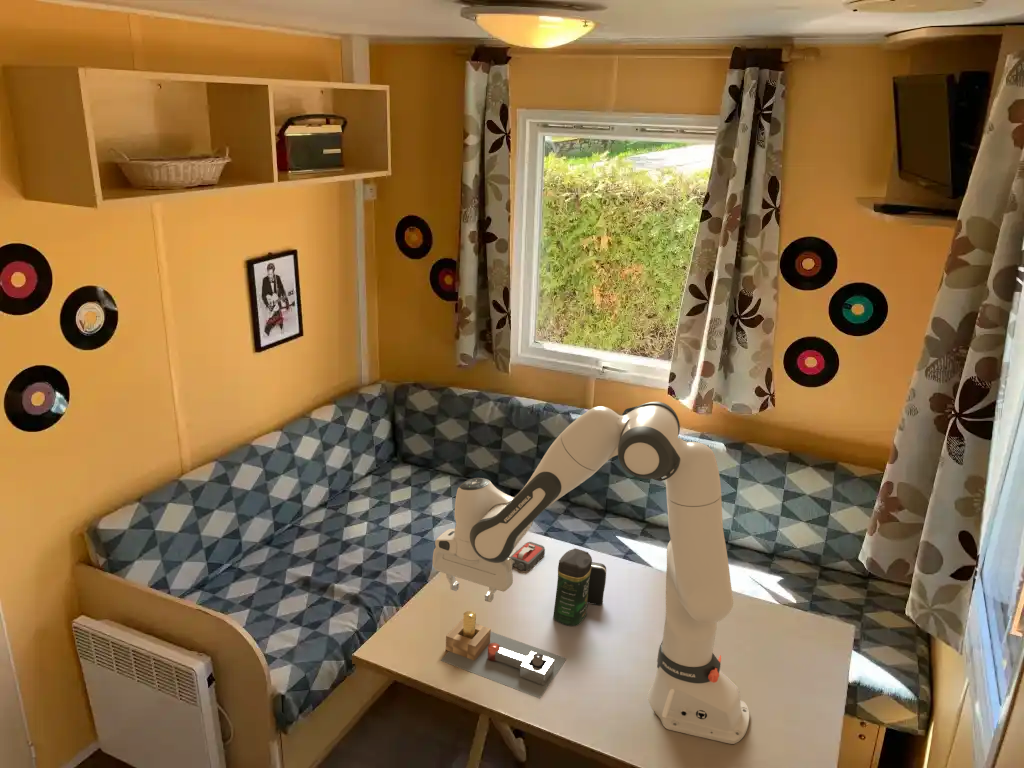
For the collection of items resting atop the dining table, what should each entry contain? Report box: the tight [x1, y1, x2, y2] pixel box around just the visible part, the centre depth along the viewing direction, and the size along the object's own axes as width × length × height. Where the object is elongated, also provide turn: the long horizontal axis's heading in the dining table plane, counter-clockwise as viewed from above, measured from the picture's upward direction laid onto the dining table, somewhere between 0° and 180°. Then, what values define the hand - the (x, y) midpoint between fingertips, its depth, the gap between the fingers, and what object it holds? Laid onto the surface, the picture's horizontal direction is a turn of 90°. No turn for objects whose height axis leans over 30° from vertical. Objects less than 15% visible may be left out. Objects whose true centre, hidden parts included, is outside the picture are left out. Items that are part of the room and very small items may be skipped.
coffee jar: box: [553, 548, 593, 627], centre depth 205 cm, size 10×8×19 cm
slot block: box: [445, 618, 492, 661], centre depth 193 cm, size 8×8×4 cm
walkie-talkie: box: [509, 541, 546, 572], centre depth 231 cm, size 9×4×20 cm
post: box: [532, 653, 543, 669], centre depth 184 cm, size 2×2×5 cm
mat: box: [440, 631, 568, 699], centre depth 189 cm, size 26×16×1 cm, turn 64°
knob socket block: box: [488, 643, 554, 685], centre depth 186 cm, size 16×6×3 cm, turn 64°
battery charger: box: [587, 561, 607, 606], centre depth 214 cm, size 7×4×11 cm, turn 79°
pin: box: [462, 610, 477, 639], centre depth 192 cm, size 3×3×9 cm
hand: (471, 594), depth 189 cm, fingers open, 8 cm apart
